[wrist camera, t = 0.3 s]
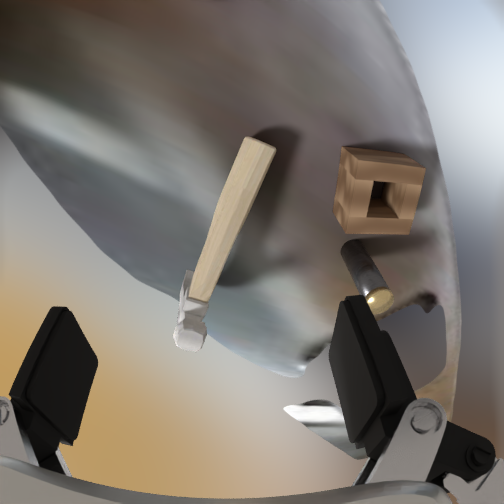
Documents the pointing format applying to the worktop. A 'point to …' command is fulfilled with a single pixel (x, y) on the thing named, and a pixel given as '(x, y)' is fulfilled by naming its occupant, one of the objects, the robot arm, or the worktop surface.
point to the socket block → (393, 195)
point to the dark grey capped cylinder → (367, 276)
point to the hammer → (221, 240)
